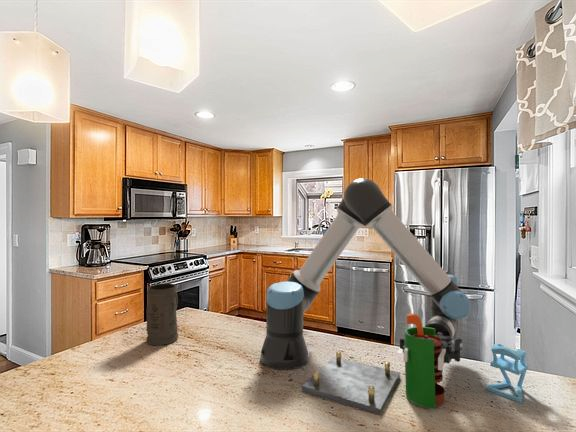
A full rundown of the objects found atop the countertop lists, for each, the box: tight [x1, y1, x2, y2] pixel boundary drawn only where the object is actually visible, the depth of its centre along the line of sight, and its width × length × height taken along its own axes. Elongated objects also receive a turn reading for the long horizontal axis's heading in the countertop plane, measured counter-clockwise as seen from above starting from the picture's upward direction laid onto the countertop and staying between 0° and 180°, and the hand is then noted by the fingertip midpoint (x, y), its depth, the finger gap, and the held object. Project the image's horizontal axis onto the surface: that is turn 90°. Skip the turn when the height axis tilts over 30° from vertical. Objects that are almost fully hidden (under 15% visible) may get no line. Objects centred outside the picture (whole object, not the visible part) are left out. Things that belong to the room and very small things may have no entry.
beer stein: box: [146, 283, 179, 346], centre depth 120 cm, size 15×11×20 cm
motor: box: [403, 313, 446, 410], centre depth 81 cm, size 10×9×20 cm
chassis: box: [301, 350, 401, 417], centre depth 88 cm, size 20×21×4 cm
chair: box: [486, 343, 529, 403], centre depth 85 cm, size 8×8×12 cm
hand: (422, 360), depth 76 cm, fingers closed on motor, 7 cm apart
